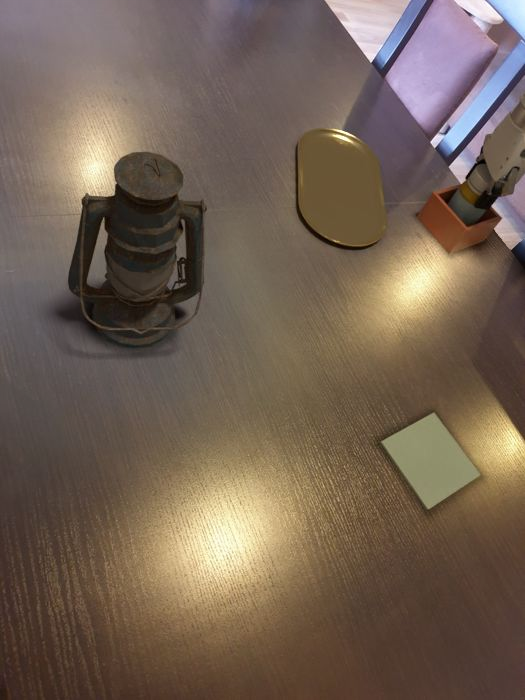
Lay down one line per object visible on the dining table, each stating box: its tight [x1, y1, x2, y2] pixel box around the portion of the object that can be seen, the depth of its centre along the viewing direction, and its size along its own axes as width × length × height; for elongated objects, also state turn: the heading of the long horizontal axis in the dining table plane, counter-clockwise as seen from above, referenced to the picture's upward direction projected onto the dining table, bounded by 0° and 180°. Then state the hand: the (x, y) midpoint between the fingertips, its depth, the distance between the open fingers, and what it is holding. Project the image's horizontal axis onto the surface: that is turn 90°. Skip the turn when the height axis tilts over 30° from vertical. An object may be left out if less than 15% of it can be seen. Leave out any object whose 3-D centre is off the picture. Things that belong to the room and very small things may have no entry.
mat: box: [379, 412, 481, 512], centre depth 89 cm, size 12×12×1 cm
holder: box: [416, 183, 503, 255], centre depth 118 cm, size 11×11×7 cm
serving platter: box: [297, 127, 388, 248], centre depth 118 cm, size 19×35×2 cm, turn 179°
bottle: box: [447, 164, 505, 227], centre depth 114 cm, size 7×7×15 cm
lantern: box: [67, 151, 208, 350], centre depth 77 cm, size 19×14×30 cm
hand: (476, 193), depth 112 cm, fingers closed on bottle, 7 cm apart
